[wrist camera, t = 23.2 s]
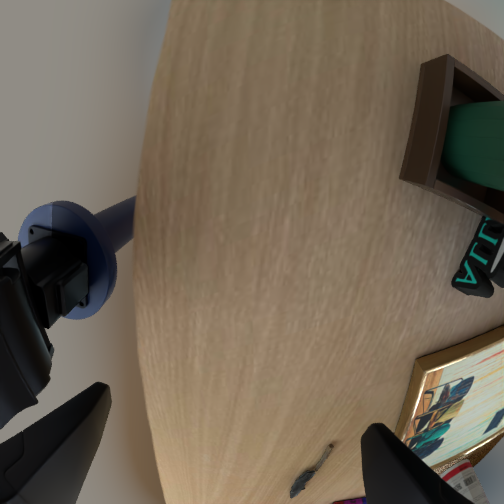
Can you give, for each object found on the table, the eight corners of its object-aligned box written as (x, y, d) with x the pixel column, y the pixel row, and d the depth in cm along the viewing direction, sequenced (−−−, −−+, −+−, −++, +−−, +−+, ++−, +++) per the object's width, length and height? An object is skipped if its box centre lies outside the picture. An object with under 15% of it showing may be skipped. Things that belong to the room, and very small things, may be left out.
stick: (319, 469, 30) (317, 472, 30) (315, 467, 30) (313, 469, 30) (335, 445, 27) (332, 448, 27) (330, 442, 28) (327, 446, 27)
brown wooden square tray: (398, 178, 18) (425, 185, 15) (420, 63, 15) (447, 53, 12) (480, 214, 19) (507, 226, 16) (499, 116, 16) (526, 116, 12)
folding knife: (297, 499, 34) (285, 501, 34) (296, 494, 35) (284, 496, 35) (317, 473, 29) (302, 475, 29) (315, 467, 30) (300, 469, 30)
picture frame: (423, 371, 22) (571, 297, 20) (415, 359, 23) (564, 292, 22) (376, 490, 32) (508, 428, 30) (374, 482, 33) (504, 423, 32)
